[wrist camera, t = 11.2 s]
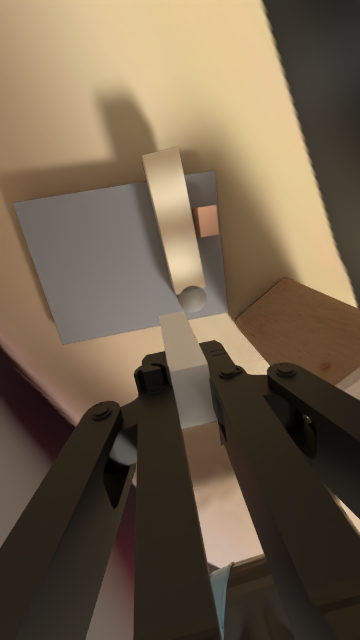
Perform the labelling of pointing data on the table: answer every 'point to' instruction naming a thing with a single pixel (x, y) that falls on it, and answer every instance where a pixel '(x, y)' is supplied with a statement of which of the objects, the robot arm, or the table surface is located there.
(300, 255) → the table surface
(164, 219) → the folding leg
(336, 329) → the wooden block
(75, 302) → the stool seat
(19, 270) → the table surface
